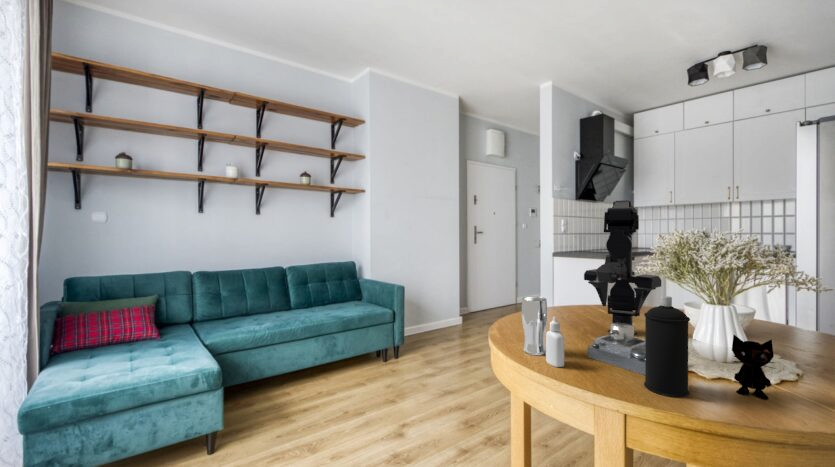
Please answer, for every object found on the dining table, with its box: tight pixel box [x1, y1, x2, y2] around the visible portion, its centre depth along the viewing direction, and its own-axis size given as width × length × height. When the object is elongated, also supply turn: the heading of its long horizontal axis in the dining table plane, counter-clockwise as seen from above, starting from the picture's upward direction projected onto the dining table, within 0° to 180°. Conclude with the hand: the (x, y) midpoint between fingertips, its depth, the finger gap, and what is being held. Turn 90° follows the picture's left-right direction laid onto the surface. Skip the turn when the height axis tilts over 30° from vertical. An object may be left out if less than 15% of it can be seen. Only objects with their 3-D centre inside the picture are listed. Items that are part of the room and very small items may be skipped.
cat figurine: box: [731, 334, 776, 401], centre depth 78 cm, size 7×7×12 cm
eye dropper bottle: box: [545, 316, 565, 368], centre depth 97 cm, size 4×6×12 cm
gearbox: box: [587, 333, 645, 376], centre depth 98 cm, size 14×16×4 cm
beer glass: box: [521, 296, 549, 356], centre depth 106 cm, size 7×7×15 cm
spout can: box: [609, 323, 635, 347], centre depth 100 cm, size 8×6×6 cm
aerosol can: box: [643, 295, 691, 398], centre depth 81 cm, size 8×8×20 cm
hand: (620, 309), depth 105 cm, fingers open, 9 cm apart
